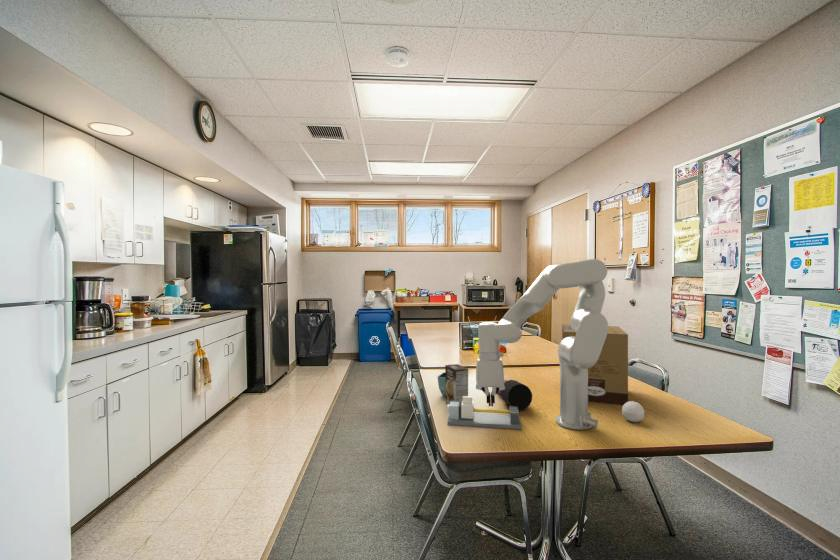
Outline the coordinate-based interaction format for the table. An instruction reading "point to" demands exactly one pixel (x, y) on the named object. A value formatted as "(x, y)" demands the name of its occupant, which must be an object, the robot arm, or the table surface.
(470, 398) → the sleeve
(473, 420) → the board
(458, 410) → the connector
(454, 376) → the coffee box
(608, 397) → the cardboard box
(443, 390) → the flower pot
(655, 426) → the table surface
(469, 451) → the table surface
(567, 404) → the robot arm
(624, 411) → the white textured egg
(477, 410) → the fibre cord
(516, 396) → the black cylinder
